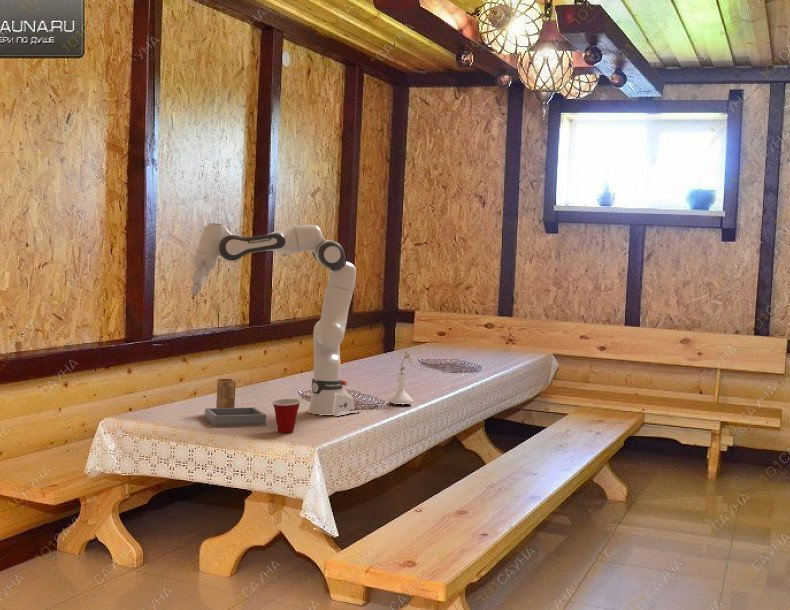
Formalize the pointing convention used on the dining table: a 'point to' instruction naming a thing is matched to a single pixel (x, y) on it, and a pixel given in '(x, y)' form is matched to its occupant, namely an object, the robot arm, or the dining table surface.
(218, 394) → the wooden pencil holder
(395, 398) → the flower in vase
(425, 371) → the dining table surface
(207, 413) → the gray tray
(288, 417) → the plastic cup
